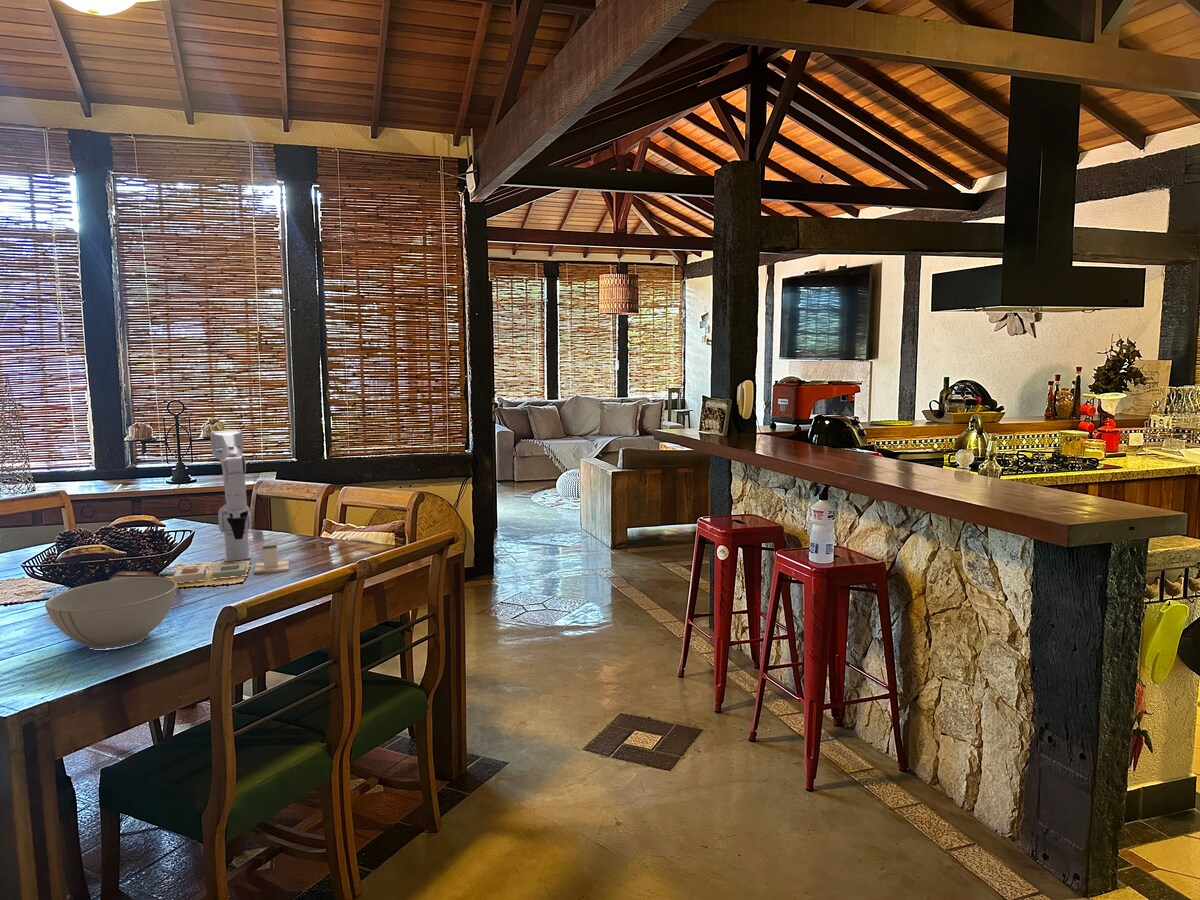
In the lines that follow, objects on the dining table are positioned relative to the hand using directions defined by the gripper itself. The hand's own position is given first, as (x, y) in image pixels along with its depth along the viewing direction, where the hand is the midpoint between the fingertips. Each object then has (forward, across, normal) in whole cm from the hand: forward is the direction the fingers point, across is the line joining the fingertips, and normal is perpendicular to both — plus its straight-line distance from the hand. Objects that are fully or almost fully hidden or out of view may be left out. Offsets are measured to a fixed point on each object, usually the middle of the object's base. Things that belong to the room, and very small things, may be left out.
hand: (239, 536), depth 252 cm
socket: (+10, +6, -3) cm, 12 cm away
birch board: (+10, +4, +9) cm, 14 cm away
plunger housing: (+10, +7, -14) cm, 19 cm away
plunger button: (+10, +7, -14) cm, 18 cm away
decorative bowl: (+11, +60, -24) cm, 65 cm away
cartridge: (+10, +4, +9) cm, 13 cm away
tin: (+11, +25, -26) cm, 38 cm away
